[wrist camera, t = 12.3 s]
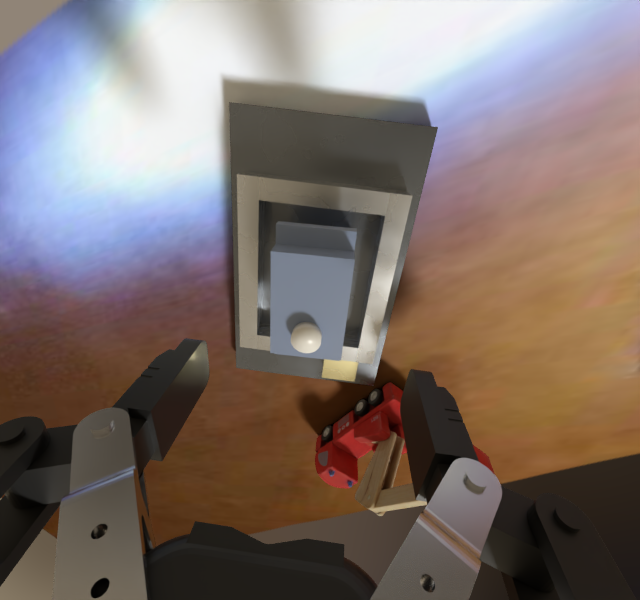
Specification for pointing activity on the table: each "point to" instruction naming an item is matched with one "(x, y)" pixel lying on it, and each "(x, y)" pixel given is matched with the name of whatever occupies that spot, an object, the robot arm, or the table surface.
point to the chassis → (323, 221)
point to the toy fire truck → (387, 444)
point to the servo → (310, 289)
